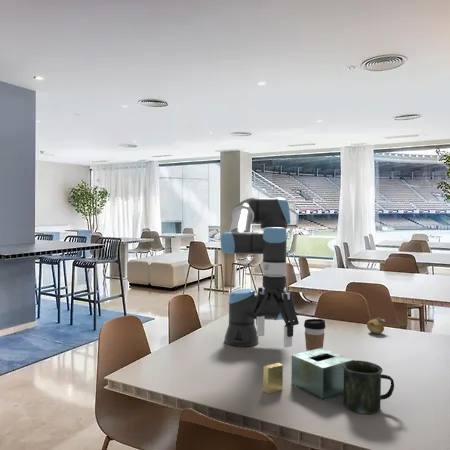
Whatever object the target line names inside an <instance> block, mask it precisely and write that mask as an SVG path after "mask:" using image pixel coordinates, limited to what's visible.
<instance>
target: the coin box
mask: <svg viewBox="0 0 450 450" xmlns="http://www.w3.org/2000/svg"><path fill="white" fill-rule="evenodd" d="M347 361H354V359H352V358H351V357H347V356H345V355H342V354H339V353H336V352H334V351H331V350H328V349H325V348H324V347H323V348H319V349H315V350H310V351H302V352H299V353H294V354H291V386H293V387H295V388H297V389H299V390H301V391H303V392H305V393H306V394H309V395H311V396H312V395H313V397H314V396H315V398H316V397H317V398H316V399H318V398H319V399H318V400H320V399H321V400H320V401H322V400H324V401H326V400H325V399H327V400H329V398H330V399H332V397H333V398H335V396H336V397H339V396H341V395H343V393H344V368H343V367H342V365H343V363H345V362H347ZM338 395H339V396H338Z"/></svg>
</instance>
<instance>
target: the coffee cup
mask: <svg viewBox="0 0 450 450" xmlns="http://www.w3.org/2000/svg"><path fill="white" fill-rule="evenodd" d="M303 327H304V338H305V340H304V341H305V349H306V351H310V350H315V349H319V348H323V349H324V340H325V329H326V321H325V320H324V319H323V318H308V319H305V320H304V324H303ZM306 351H305V352H306Z"/></svg>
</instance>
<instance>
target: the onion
mask: <svg viewBox="0 0 450 450" xmlns="http://www.w3.org/2000/svg"><path fill="white" fill-rule="evenodd" d="M385 321H386V320H385V318H382V319H381V317H378V316H377V317H376V318H373V319H371V320H369V321H367V323H366V327H367V329H368V331H369V332H370V333H372V334H374V333H375V335H381V334H382V333H383V332H384V330H385V326H384V324H383V323H385Z"/></svg>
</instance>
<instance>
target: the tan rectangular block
mask: <svg viewBox="0 0 450 450" xmlns="http://www.w3.org/2000/svg"><path fill="white" fill-rule="evenodd" d="M283 368H284V365H283V364H281V363H280V362H276V363H272V364H266V365H263V378H262V379H263V383H262V384H263V385H262V386H263V389H262V390H263V392H265V394H273V393H276V392H279V391H282V390H283V382H284V381H283V380H284V379H283V377H284V376H283V375H284V371H283V370H284V369H283Z"/></svg>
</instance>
